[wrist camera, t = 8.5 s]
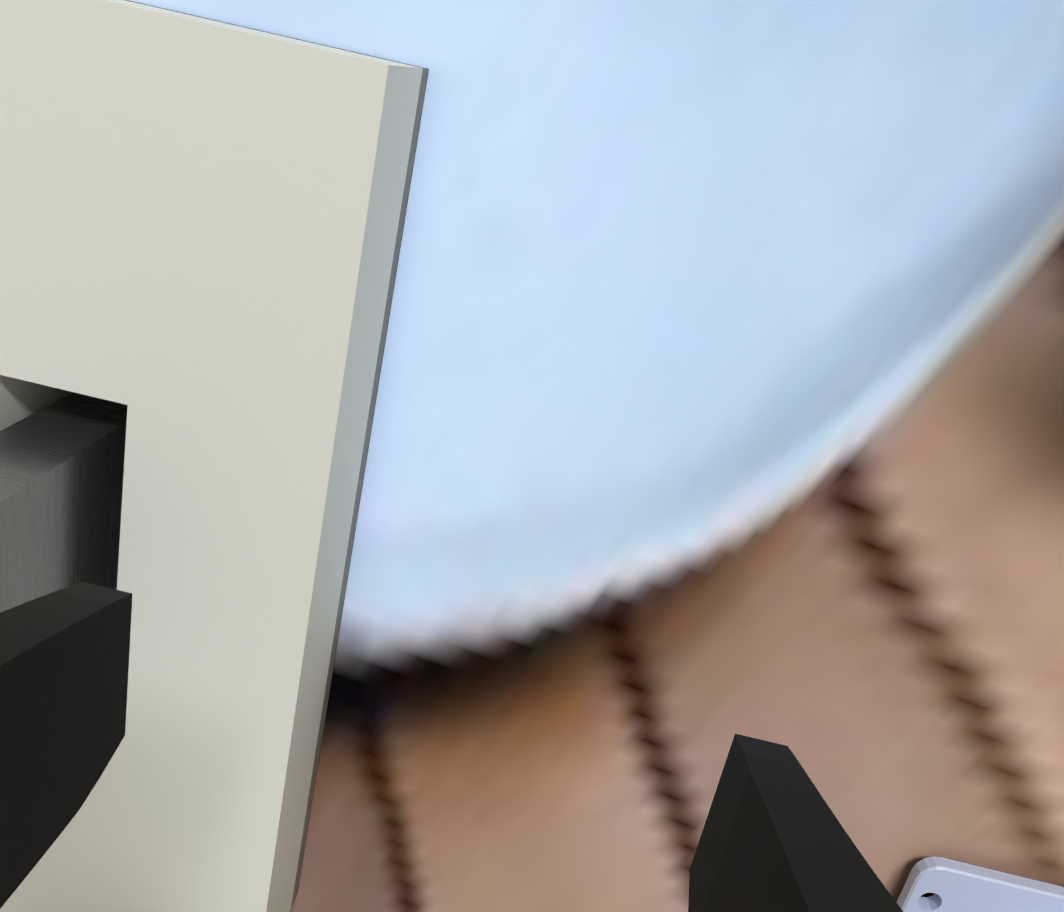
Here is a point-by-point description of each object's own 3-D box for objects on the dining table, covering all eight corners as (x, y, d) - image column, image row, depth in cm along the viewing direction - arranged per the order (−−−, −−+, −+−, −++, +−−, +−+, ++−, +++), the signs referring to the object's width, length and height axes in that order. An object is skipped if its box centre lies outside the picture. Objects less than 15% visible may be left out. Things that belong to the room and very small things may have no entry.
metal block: (145, 608, 22) (-27, 788, 16) (81, 593, 22) (-113, 767, 16) (158, 400, 20) (-30, 521, 14) (87, 383, 20) (-128, 499, 14)
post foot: (297, 892, 25) (254, 993, 22) (-77, 798, 25) (-167, 887, 22) (429, 69, 18) (388, 65, 15) (-103, -53, 18) (-241, -79, 15)
